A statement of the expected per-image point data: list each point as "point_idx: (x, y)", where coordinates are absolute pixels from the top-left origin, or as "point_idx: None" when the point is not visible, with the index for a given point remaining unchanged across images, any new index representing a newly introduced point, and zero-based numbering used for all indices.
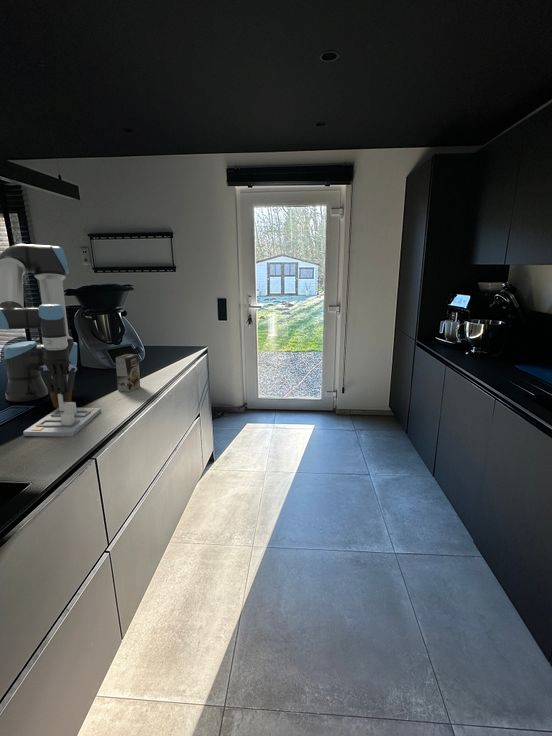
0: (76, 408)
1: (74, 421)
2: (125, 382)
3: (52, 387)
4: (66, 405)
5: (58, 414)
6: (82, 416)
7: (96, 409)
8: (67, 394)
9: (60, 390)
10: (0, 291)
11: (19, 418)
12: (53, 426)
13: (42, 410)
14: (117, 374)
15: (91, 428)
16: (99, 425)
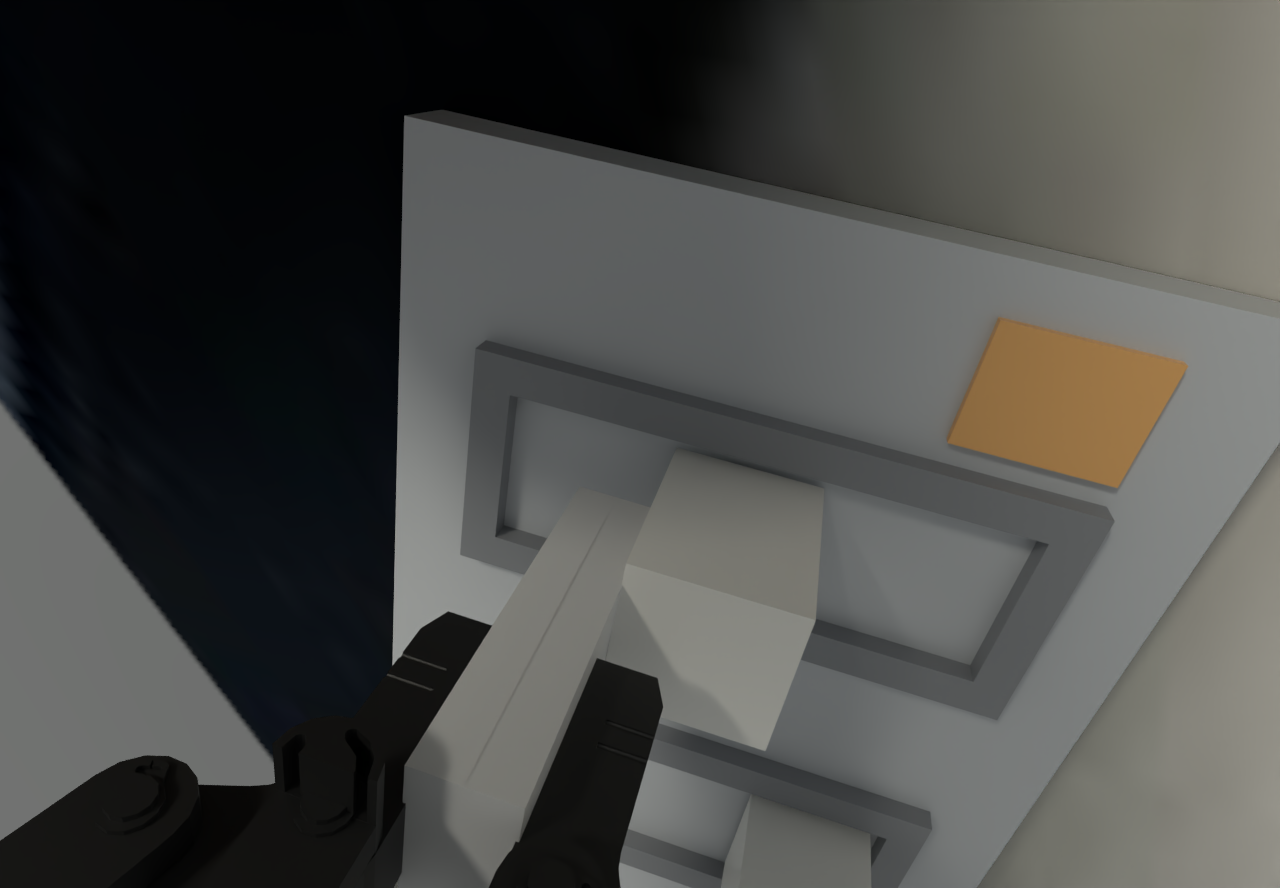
0: (774, 250)
1: (867, 853)
2: None
3: (57, 865)
4: (665, 712)
5: (543, 489)
6: (957, 697)
7: (1234, 400)
8: (621, 848)
9: (367, 860)
10: None
11: (71, 346)
12: (638, 859)
13: (149, 35)
14: None
15: (1085, 883)
16: (1203, 844)
